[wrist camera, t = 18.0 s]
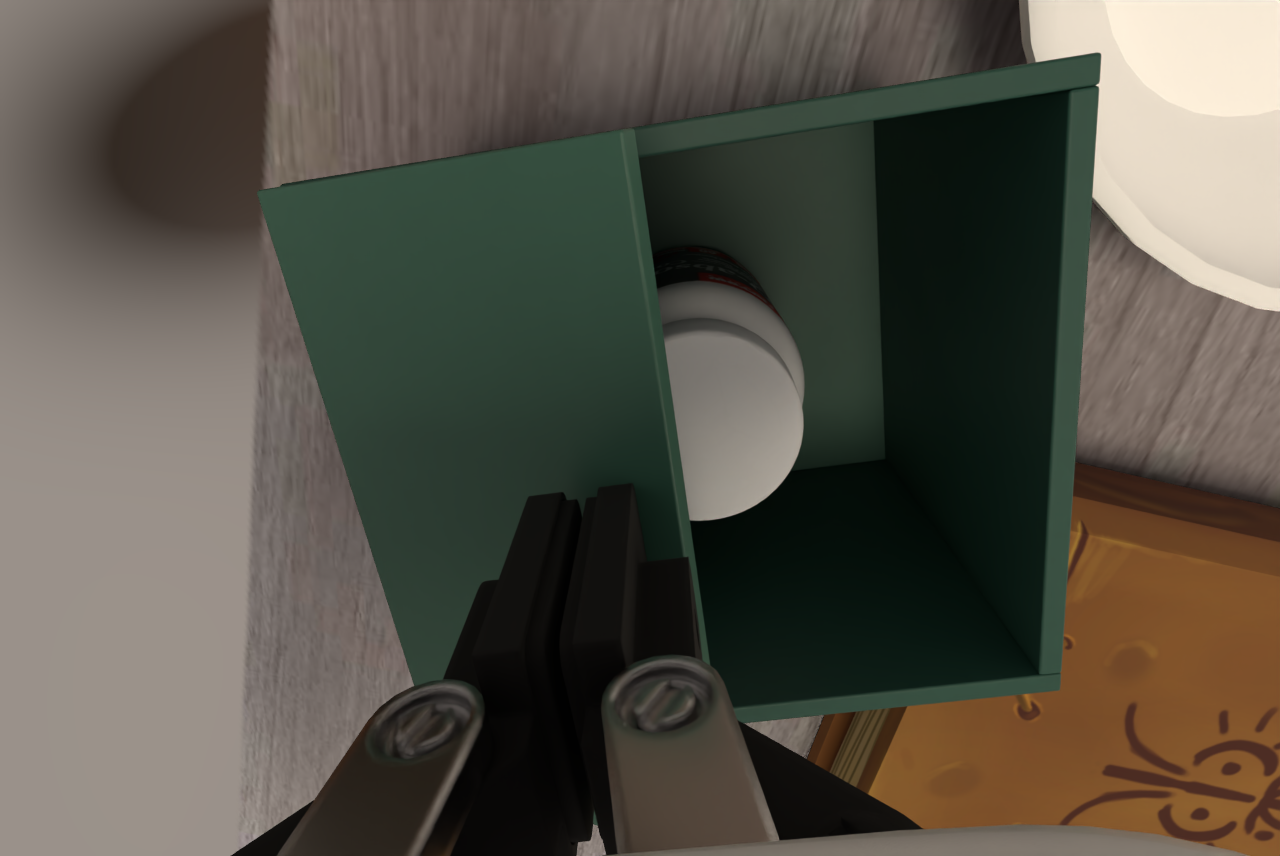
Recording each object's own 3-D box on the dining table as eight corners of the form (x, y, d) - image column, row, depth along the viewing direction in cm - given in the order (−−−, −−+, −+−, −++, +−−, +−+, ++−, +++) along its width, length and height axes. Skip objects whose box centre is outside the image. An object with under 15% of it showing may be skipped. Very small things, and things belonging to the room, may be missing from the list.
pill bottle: (767, 236, 25) (834, 297, 16) (771, 398, 27) (831, 535, 18) (596, 251, 25) (562, 318, 16) (612, 409, 27) (591, 550, 18)
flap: (454, 767, 17) (443, 780, 17) (274, 188, 13) (255, 191, 12) (737, 848, 14) (730, 866, 14) (635, 126, 10) (622, 129, 9)
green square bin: (533, 509, 29) (453, 754, 18) (455, 161, 25) (277, 184, 13) (895, 463, 28) (1061, 691, 17) (884, 92, 24) (1103, 50, 12)
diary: (1500, 550, 29) (1691, 643, 24) (1254, 881, 36) (1359, 1012, 31) (939, 424, 28) (1007, 493, 22) (791, 793, 34) (817, 915, 29)
